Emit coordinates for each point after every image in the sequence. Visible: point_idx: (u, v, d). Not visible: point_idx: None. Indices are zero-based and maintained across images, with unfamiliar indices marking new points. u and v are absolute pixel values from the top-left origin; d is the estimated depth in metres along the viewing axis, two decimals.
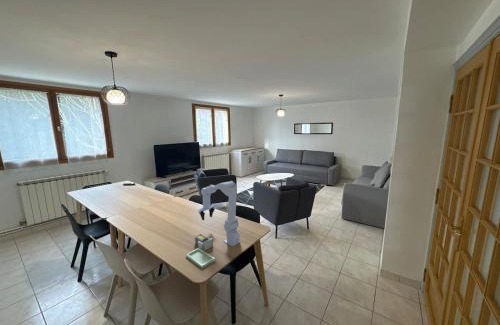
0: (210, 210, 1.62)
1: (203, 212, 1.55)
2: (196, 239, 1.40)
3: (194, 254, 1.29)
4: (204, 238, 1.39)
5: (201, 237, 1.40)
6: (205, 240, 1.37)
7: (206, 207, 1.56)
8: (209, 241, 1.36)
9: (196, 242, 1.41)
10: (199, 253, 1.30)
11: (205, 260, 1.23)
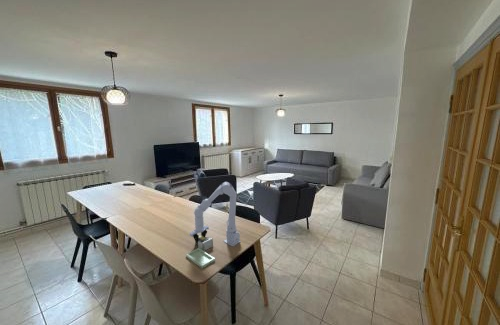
0: (202, 233, 1.43)
1: (197, 235, 1.38)
2: None
3: (194, 254, 1.29)
4: (204, 238, 1.39)
5: (201, 237, 1.40)
6: (205, 240, 1.37)
7: (199, 230, 1.38)
8: (209, 241, 1.36)
9: None
10: (199, 253, 1.30)
11: (205, 260, 1.23)
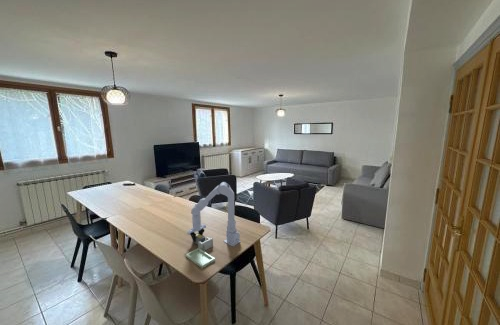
0: (199, 231, 1.45)
1: (194, 233, 1.40)
2: None
3: (194, 254, 1.29)
4: (201, 236, 1.41)
5: (198, 235, 1.42)
6: (202, 238, 1.39)
7: (196, 228, 1.40)
8: (209, 241, 1.36)
9: None
10: (199, 253, 1.30)
11: (205, 260, 1.23)
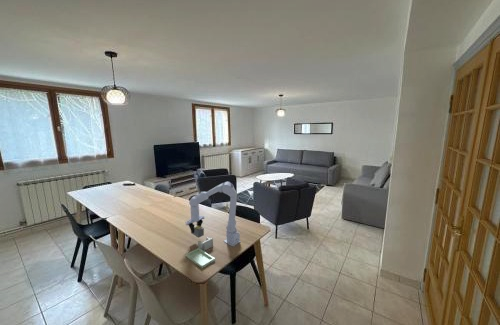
0: (198, 222, 1.45)
1: (192, 224, 1.40)
2: None
3: (194, 254, 1.29)
4: (200, 227, 1.41)
5: (197, 226, 1.42)
6: (201, 229, 1.40)
7: (194, 219, 1.40)
8: (209, 241, 1.36)
9: None
10: (199, 253, 1.30)
11: (205, 260, 1.23)
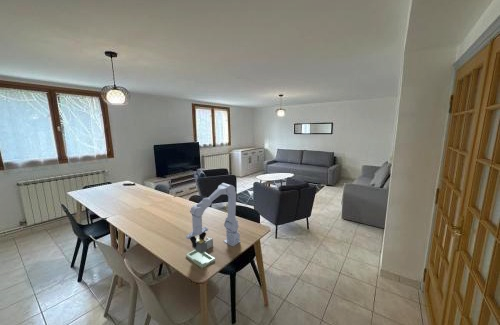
0: (200, 235, 1.26)
1: (194, 237, 1.21)
2: None
3: (194, 254, 1.29)
4: (202, 241, 1.22)
5: (199, 240, 1.23)
6: (203, 244, 1.21)
7: (197, 232, 1.21)
8: (209, 241, 1.36)
9: None
10: (199, 253, 1.30)
11: (205, 260, 1.23)
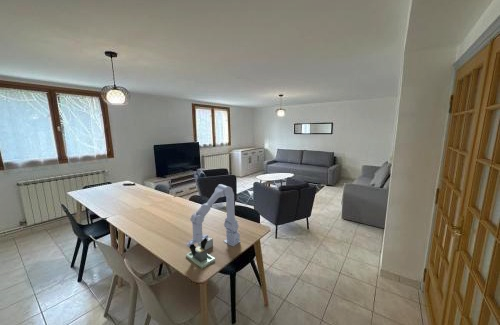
0: (202, 242, 1.28)
1: (193, 246, 1.21)
2: None
3: None
4: (202, 250, 1.23)
5: (199, 249, 1.25)
6: (204, 253, 1.22)
7: (197, 239, 1.22)
8: (209, 241, 1.36)
9: None
10: None
11: (205, 260, 1.23)
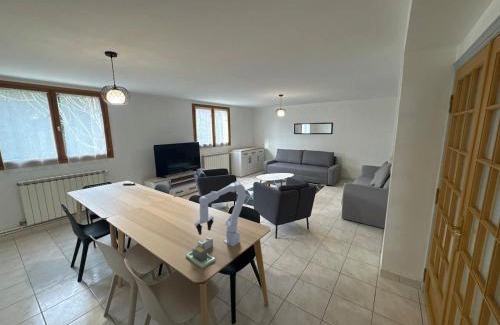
0: (208, 222, 1.40)
1: (200, 225, 1.33)
2: (193, 251, 1.25)
3: None
4: (202, 250, 1.23)
5: (199, 249, 1.25)
6: (204, 253, 1.22)
7: (204, 219, 1.34)
8: (209, 241, 1.36)
9: (193, 255, 1.25)
10: None
11: (205, 260, 1.23)
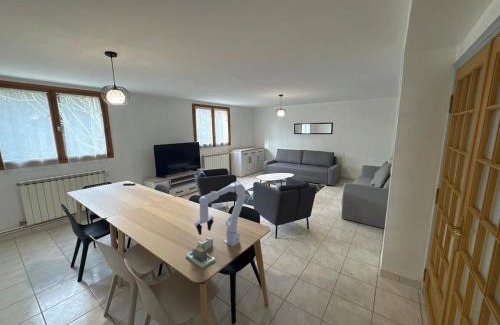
0: (208, 222, 1.40)
1: (200, 225, 1.33)
2: (193, 251, 1.25)
3: None
4: (202, 250, 1.23)
5: (199, 249, 1.25)
6: (204, 253, 1.22)
7: (204, 219, 1.34)
8: (209, 241, 1.36)
9: (193, 255, 1.25)
10: None
11: (205, 260, 1.23)
